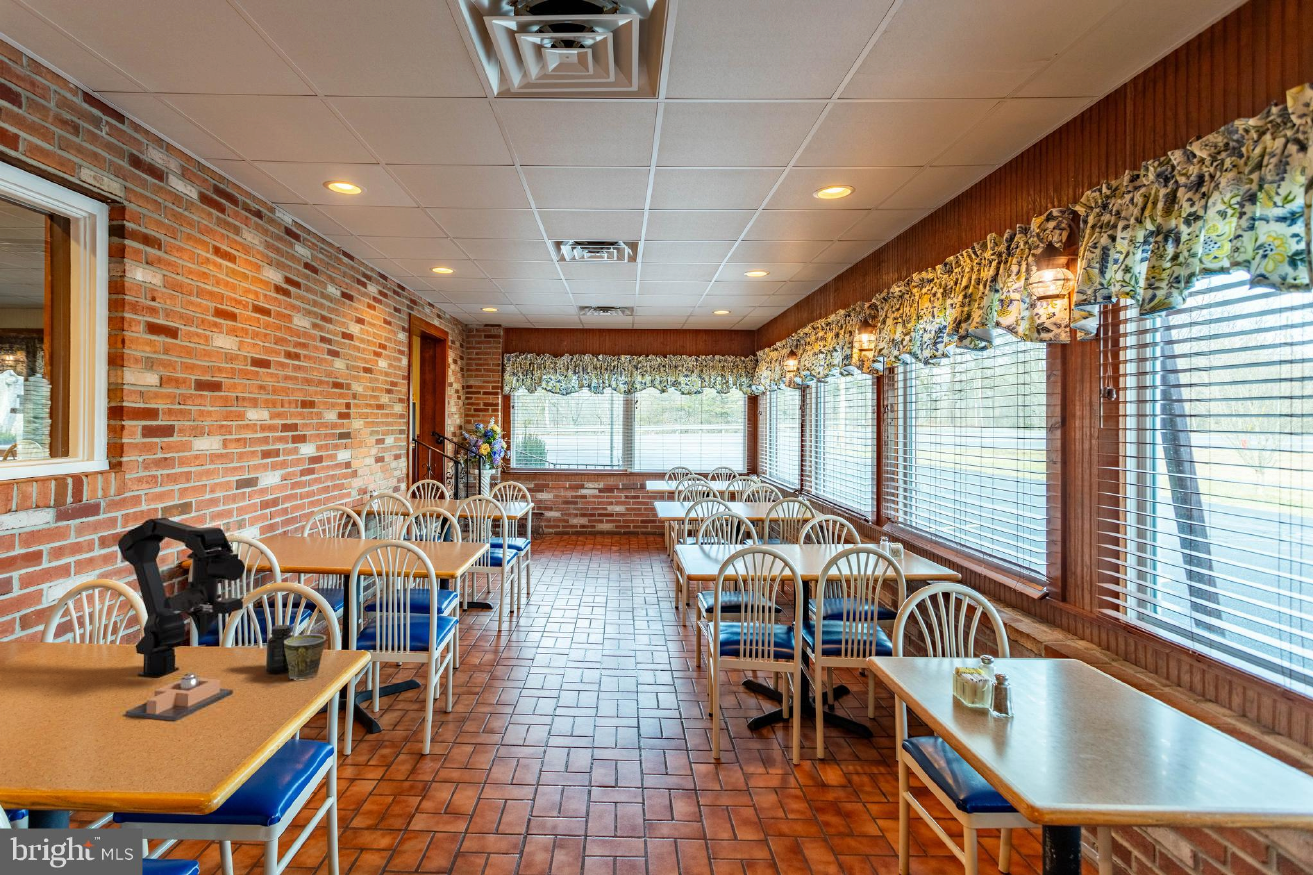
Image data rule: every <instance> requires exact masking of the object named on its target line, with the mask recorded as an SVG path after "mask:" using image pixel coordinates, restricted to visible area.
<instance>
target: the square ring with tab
mask: <svg viewBox="0 0 1313 875" xmlns="http://www.w3.org/2000/svg"><path fill="white" fill-rule="evenodd" d="M180 685H181V679H179V680H177V681H175V682H172V683H169V684H167V685H165V686H162V687H160V688H157V689H155V690H154V697H151V698H149V699H146V703H147V711H146V713H149V714H158V713H160V712H162V711H164V710H167V709H169V708H171V707H173V706H175V705H177V706H186V707H188V706H190V705H193V704H195V703H197V702H199V701H201V700H203V699H205V698H208V697H210V696H212V695H214V694H216V693H218V692H220V689H221V679H217V678H216V679H215V678H204V677H199V679H198V687H196V688H194V689H191V690H189V691H185V690H180Z"/></svg>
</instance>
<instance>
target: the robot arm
mask: <svg viewBox="0 0 1313 875" xmlns="http://www.w3.org/2000/svg"><path fill="white" fill-rule="evenodd" d="M166 538H167V539H170V540H174V541H177V542H180V543H182V544H184V547H185V548H187V549H188V550H190V551H191V553H189V554H187V556H186V559H190V560H192V566H191V567H192V569H191V580H190V581H187V582H186V584H185V587H186V588H184V590H181V591H180V592H178V593H176V594H173V595H169V596H167V592H166V590H165V586H164V583H163V578H162V575H161V572H160V569H159V564H158V561H157V560H158V557H159V555H160V553H161V552H160V551H161V543H162V542H163V541H164V540H166ZM117 547H118V549H119V552H120V554H121V557H122V559H123V560H125V561H126V563H128V564H130V565H131V566H132V567H133V569H134V573H135V576H136V580H137V583H138V586H139V587H138V588H139V590H140V594H141V597H142V601H143V605H144V608H145V611H146V614H147V618H146V621H145V623H144V626H143V636H142V637H141V639H139V641H138V642H137V643H136V644H135V650H136V654H137V655H143V669H142V671H141V672H138V673H137V676H139V677H148V678H149V677H150V678H161V677H163V676H166V675H168V674H171V673H173V672H176V671H179V670H180V667H179V666H176V654H175V652H176V650H175V648H179V647H182V645H183V642H184V638H185V635H186V632H187V631H186V626H187V624H186V623H185V621H184V617H183V614H186V615H188V616H189V617H191V618H192V621H193V623H194V626H195V629H196V632H197V634H198V636H199V637H204V636H206V635H207V633H208V631H209V630H210V629H211V626H212V624H213V622H214V621H215V619H216V618H217V617H218V615H220V614H221V615H227V614H231V613H235V612H237V611H240V610H243V609H244V600H242V598H238V597H237V598H236V597H226V598H222V593H221V594H220V593H218V592H219V588H218V587H219V584H222V583H223V581H229V582H236V581H237V580H239V579H240V578H242V577H243V575H244V574H245V571H246V566H245V562H244V561H243V560H242V559H240V558H239V553H234V551H233V547H232V545H231V544H230V542H229V540H228V538H227V536H226V534H225V533H224V530H223V529H222V528H220V527H212V526H211V527H208V526H205V527H197V526H194V525H193V526H192V525H189V524H185V523H182V522H178V521H175V520H172V519H170V518H167V517H155V518H153V517H152V518H149V519H147V520H144V522H142V523H141V524H139V525H138V526H136V527H133V528H132V529H130V530H128V531H127V532H126V533H125V534H123V535H122V536H121V537H120V539H119V540H118V542H117ZM221 598H222V599H221ZM219 599H220V600H219ZM182 613H183V614H182Z"/></svg>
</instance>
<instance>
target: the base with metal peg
mask: <svg viewBox="0 0 1313 875" xmlns="http://www.w3.org/2000/svg"><path fill="white" fill-rule="evenodd" d="M199 678H200V677H199V676H198V675H196V673H194V672H191V673H187V674H184V676H183V677H181V678H180V680H181V685H180V690H185V691H189V690H191V689H194V688H196V687H198V679H199ZM233 691H234V689H229V688H227V689H226V688H220V692H218V693H216V694H214V695H212V696H210V697H208V698H205V699H203V700H201V701H199V702H197V703H195V704H193V705H190V706H188V707H186V706H177V705H175V706H173V707H171V708H169V709H167V710H164V711H162V712H160V713H158V714H149V713H146V711H147V702H144V703H143V704H140V705H138V706H136V707H133V708H131V709H128V710H126V711H125V717H131V718H133V717H134V718H143V719H151V720H153V719H155V720H162V721H172V722H177V721H179V720H181V719H183V718H185V717H188V716H189V715H191V714H194V713H195V712H198V711H200V710H201V709H204V708H206V707H208V706H210V705H213V704H214V703H217V702H218V701H222V700H223V699H225V698H227V697H230V696H231V695H233V693H234V692H233Z"/></svg>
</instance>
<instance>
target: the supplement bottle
mask: <svg viewBox="0 0 1313 875" xmlns="http://www.w3.org/2000/svg"><path fill="white" fill-rule="evenodd" d="M292 631H293V630H292V625H291V624H279V625H274V626H272V627H271V632H270V634H271V636H270V637H269V638H268V639H267V641H266V657H265V658H266V660H265V662H266V663H265V669H266V672H267V673H268V674H271V675H279V674H285V673H289V672H288V671H289V670H288V664H287V658H286V654H285V648H284V641H285V640H286V639H288V638H291V637H294V636H295V635H293V634H292ZM284 672H285V673H284Z"/></svg>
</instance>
